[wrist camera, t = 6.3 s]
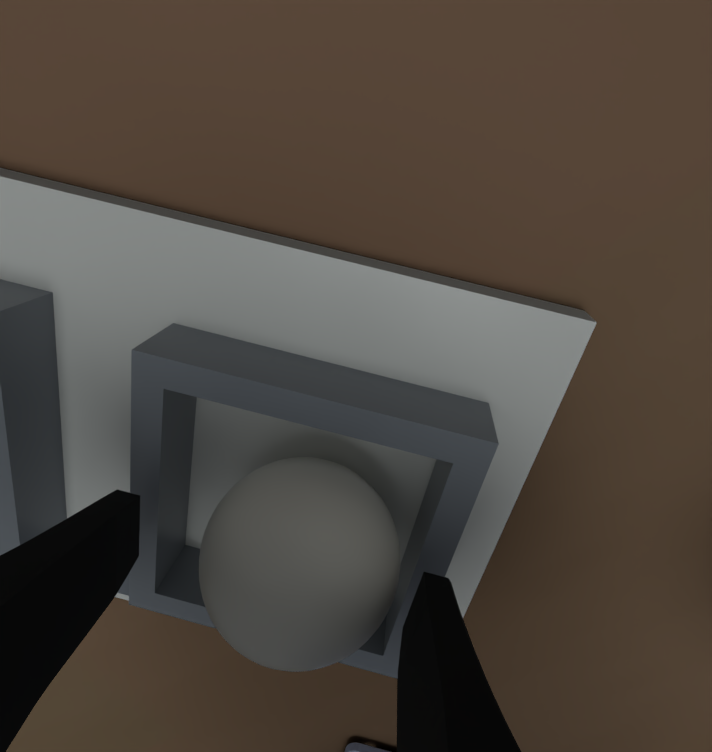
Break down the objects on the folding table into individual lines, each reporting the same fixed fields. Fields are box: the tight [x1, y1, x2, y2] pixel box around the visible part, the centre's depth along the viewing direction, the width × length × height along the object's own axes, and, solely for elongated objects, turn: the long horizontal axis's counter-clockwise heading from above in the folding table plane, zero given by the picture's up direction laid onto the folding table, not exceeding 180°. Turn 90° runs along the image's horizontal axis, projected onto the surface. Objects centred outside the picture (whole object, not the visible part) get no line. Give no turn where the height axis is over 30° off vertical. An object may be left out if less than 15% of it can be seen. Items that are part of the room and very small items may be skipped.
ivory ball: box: [199, 457, 400, 672], centre depth 12 cm, size 5×5×5 cm
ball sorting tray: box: [0, 168, 597, 679], centre depth 14 cm, size 24×14×3 cm, turn 78°
